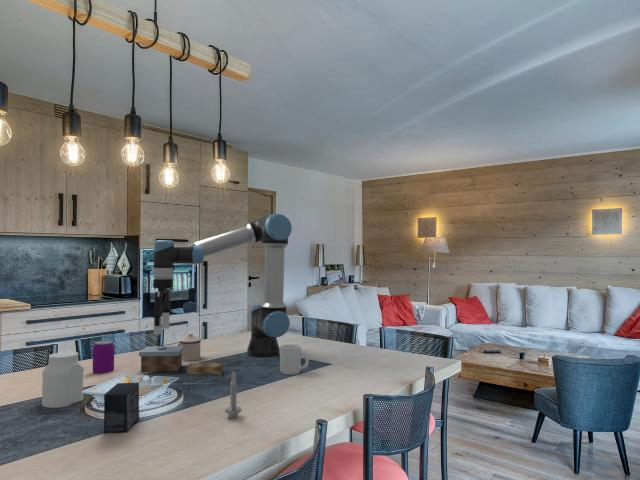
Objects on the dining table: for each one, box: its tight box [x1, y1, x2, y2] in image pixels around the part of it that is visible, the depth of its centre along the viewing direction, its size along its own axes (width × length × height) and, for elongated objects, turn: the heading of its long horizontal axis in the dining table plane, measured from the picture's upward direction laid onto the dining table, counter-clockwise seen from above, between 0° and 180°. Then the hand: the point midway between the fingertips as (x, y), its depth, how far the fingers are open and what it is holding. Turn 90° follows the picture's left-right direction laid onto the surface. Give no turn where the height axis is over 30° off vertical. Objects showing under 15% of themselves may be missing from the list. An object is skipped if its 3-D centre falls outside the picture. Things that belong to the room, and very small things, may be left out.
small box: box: [103, 382, 140, 434], centre depth 127 cm, size 11×6×10 cm, turn 5°
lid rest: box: [186, 362, 224, 377], centre depth 180 cm, size 13×6×4 cm, turn 96°
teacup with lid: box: [177, 333, 202, 362], centre depth 203 cm, size 12×9×12 cm
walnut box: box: [140, 352, 183, 373], centre depth 185 cm, size 14×8×7 cm, turn 96°
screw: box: [224, 371, 242, 420], centre depth 134 cm, size 13×5×5 cm
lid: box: [138, 345, 184, 357], centre depth 185 cm, size 15×10×2 cm
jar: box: [41, 351, 85, 409], centre depth 146 cm, size 12×10×15 cm
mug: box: [279, 344, 310, 376], centre depth 183 cm, size 12×8×10 cm
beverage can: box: [92, 340, 115, 375], centre depth 181 cm, size 8×8×12 cm
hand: (161, 331), depth 185 cm, fingers open, 13 cm apart
